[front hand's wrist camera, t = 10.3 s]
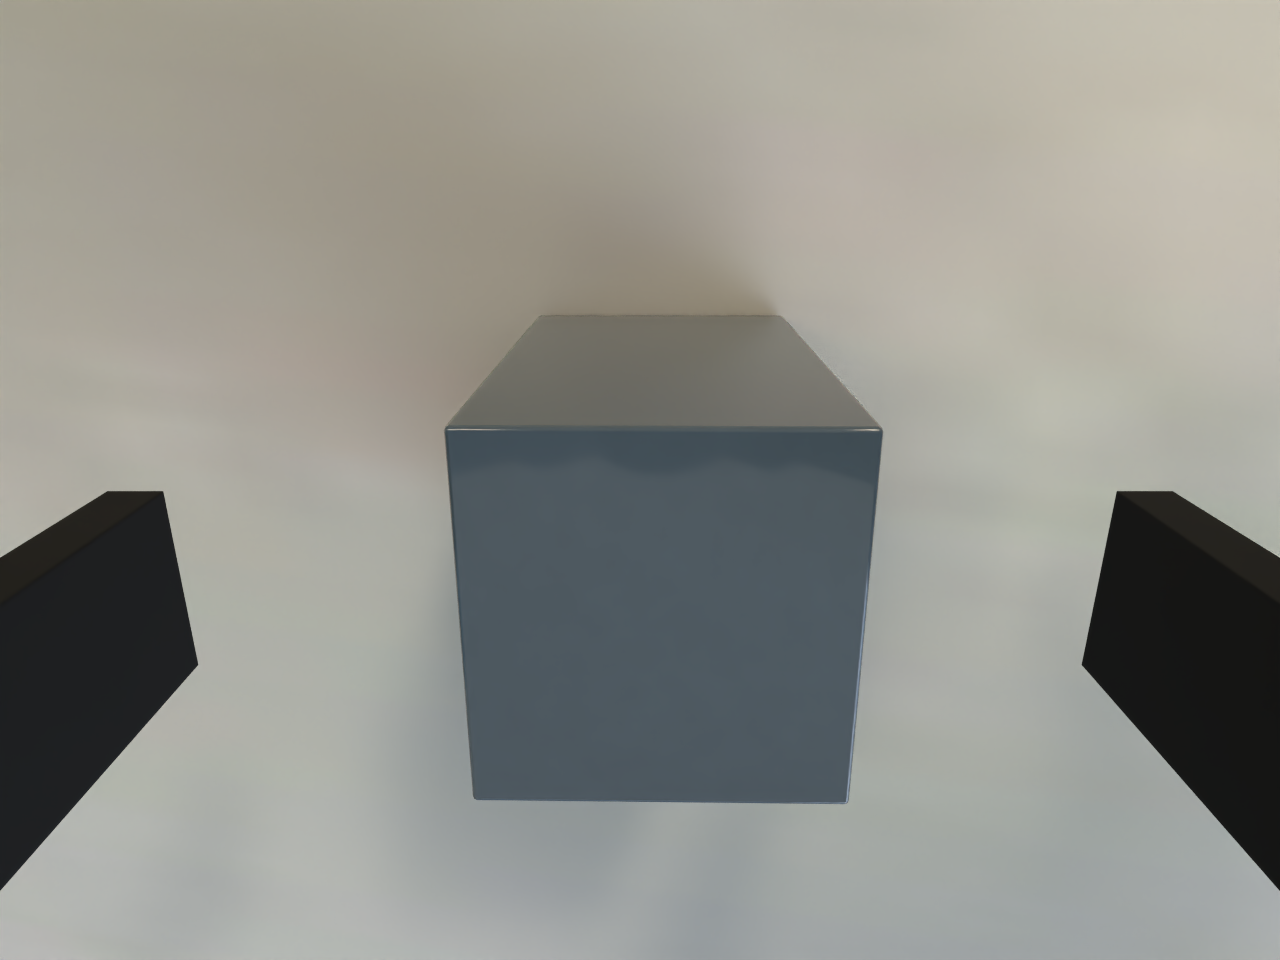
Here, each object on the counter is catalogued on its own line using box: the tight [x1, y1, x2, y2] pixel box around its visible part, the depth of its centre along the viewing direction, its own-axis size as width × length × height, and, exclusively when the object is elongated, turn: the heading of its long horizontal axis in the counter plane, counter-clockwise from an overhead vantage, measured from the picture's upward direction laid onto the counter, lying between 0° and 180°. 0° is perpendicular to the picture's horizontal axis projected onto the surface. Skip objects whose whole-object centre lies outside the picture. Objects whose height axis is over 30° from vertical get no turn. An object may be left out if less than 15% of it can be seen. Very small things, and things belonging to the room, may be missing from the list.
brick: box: [444, 316, 883, 804], centre depth 16 cm, size 6×6×9 cm
